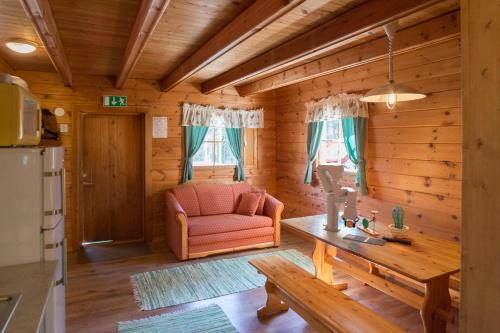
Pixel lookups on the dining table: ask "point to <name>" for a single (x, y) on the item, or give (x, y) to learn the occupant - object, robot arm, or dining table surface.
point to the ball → (349, 224)
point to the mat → (364, 239)
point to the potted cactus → (398, 223)
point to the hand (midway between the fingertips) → (349, 226)
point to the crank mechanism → (366, 224)
